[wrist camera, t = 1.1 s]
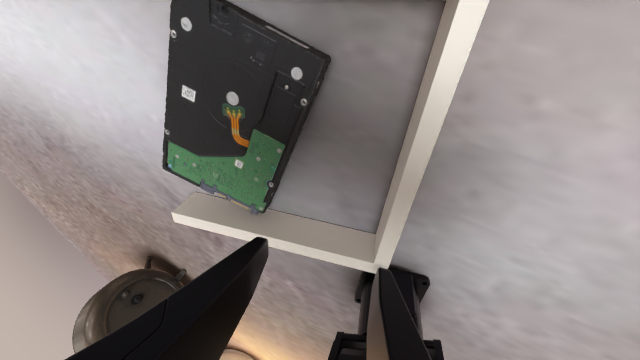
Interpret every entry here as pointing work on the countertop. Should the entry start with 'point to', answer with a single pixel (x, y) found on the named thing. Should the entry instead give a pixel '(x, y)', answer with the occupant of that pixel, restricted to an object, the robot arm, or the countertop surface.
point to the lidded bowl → (234, 355)
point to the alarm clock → (122, 303)
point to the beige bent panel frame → (423, 130)
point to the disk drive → (235, 100)
